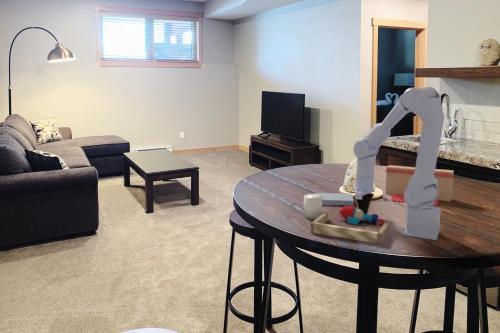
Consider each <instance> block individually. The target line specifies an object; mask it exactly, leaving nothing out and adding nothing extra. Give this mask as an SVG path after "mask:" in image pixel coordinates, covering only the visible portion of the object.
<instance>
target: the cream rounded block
mask: <svg viewBox="0 0 500 333" xmlns="http://www.w3.org/2000/svg"><path fill="white" fill-rule="evenodd" d="M322 201H323V197H322V196H321V195H318V194H316V193H308V194H305V195H303V217H304V218H306V219H311V220H315V219H317V218H318V217H319V216H320V215H322V214H323V205H322Z"/></svg>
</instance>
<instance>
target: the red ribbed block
mask: <svg viewBox="0 0 500 333" xmlns="http://www.w3.org/2000/svg"><path fill="white" fill-rule="evenodd" d="M415 167H416V166H415ZM415 167H413V166H403V165H391V164H390V165H388V166H386V169H385V171H384V172H385V173H386V178H385V195H389V194H390V195H392V197H391V198H390V201H392V202H393V201H394V202H399V203H400V202H403V203H406V202H405V200H404V191H405V189H406V188H407V186H408V183H409V180H410V179H411V178H412V176H413V175H414V173H415ZM454 173H455V172H454V170H451V169H437V168H435V172H434V177H435V178H436V179H437V180H438V183H437V188H438V191H439V194H438V197H437V199H436V200H435V201H434V207H437V206H438V203H439V201H443V202H444V201H445V202H451V201H452V198H453V197H452V195H453V194H452V193H453V184H454Z"/></svg>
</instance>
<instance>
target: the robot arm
mask: <svg viewBox="0 0 500 333" xmlns="http://www.w3.org/2000/svg"><path fill="white" fill-rule="evenodd" d="M441 99H442V95H441V94H440V93H439V92H438V90H436V89H435V88H434V87H432V86H425V87H409V88H407V89H406V90H405V91H404V92H403V93H402V94H401V95H400V96H399V97H398V100H397V101H396V103H395V104H394V106H393V107H392V109H391V110H390V112H389V113H388V114H387V115H386V116H385V118H384V119H383V121H382V122H380V123H379V122H378V123H376V124H372V125H371V127H370V130H369V131H368V133H367V134H366V135H363V137H362V140H358V141H355V144H354V145H353V149H352V150H353V154H354V156H355V157H356V172H355V186H352V188H351V190H353V191H355V194H354V199H355V200H356V202H357V207H358V209H360V210H362V211H363V213H364V214H368V212H369V208H370V205H371V203H372V199H373V198H374V196H375V194H374V191H375V188H374V180H375V176H374V175H375V161H376V157H377V155H378V153H379V151H380V147H381V146H382V145H383V144H384V143H385V142H386V141H387V140H388V139H389V137H390V136H391V130H392V129H393V128H394V126H396V124H398V123H399V122H400V121H401V120H402V119H403V118H404V117H405V116H406V115H407V114H408V113H413V114H415V115H416V116H417V117H418V118H419V119H420V120H421V121H422V127H421V132H420V138H419V143H418V149H417V150H418V151H417V156H416V161H415V173H414V175H413V176H412V178H411V179H410V180H409V183H408V186H407V188H406V189H405V191H404V200H405V202H404V203H405V204H406V207H407V210H406V211H407V212H406V224H405V225H406V227H405V230H404V231H403V232H402V235H403V236H407V237H411V238H421V239H425V240H433V241H436V240H438V236H439V234H440V232H441V210H442V209H441V208H440V207H437V206H435V204H434V201H435V200H436V199H437V197H438V194H439V191H438V188H437V183H438V180H437V179H436V178H435V177H434V172H435V169H436V167H437V160H438V155H439V149H440V145H441V144H440V143H441V139H442V133H443V128H444V122H445V114H444V108H443V106H442V102H441Z"/></svg>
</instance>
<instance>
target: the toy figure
mask: <svg viewBox="0 0 500 333" xmlns="http://www.w3.org/2000/svg"><path fill="white" fill-rule="evenodd" d="M339 214H340V216H341V217H343V218H344V219H345V220H346V223H348V224H351V225H359V223H360V221H361V222H362V221H365V222H369V223H370V224H371V225H374V226H376V225H379V226H380V227H382V226H383V225H384V223H385V222H386V220H385V219H384V218H380V217H379V215H378V214H376V213H373V214H368V213H367V214H364V213H363V211H362V210H360V209H359V208H357V207H355V206H343V207H342V208H340V210H339Z"/></svg>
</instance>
